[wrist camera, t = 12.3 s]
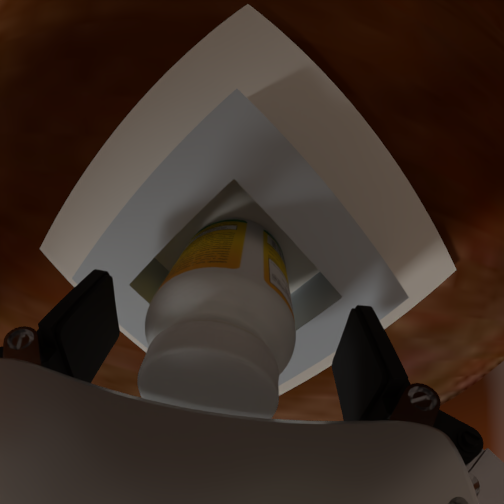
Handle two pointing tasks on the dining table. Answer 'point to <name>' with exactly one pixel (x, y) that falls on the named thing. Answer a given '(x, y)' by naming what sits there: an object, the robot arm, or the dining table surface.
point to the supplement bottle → (221, 324)
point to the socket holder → (253, 191)
